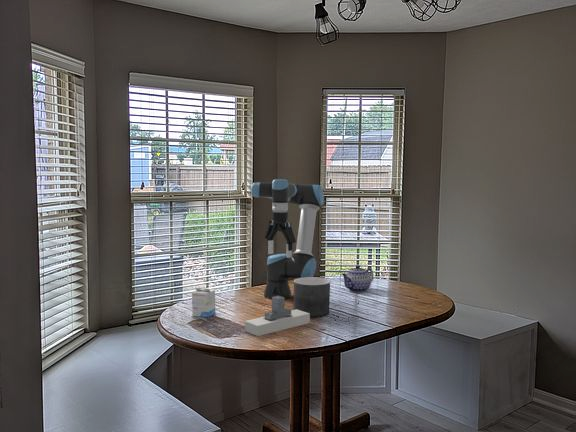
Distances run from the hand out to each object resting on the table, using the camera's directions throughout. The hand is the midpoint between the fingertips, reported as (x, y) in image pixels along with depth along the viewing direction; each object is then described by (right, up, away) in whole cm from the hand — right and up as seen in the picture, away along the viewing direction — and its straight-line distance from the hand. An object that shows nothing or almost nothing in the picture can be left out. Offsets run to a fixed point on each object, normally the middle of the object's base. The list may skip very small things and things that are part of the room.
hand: (279, 255), depth 252 cm
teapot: (+45, -25, +53) cm, 74 cm away
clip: (0, -30, -19) cm, 35 cm away
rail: (0, -31, -19) cm, 36 cm away
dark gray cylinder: (+16, -29, +6) cm, 33 cm away
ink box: (-37, -29, 0) cm, 47 cm away
